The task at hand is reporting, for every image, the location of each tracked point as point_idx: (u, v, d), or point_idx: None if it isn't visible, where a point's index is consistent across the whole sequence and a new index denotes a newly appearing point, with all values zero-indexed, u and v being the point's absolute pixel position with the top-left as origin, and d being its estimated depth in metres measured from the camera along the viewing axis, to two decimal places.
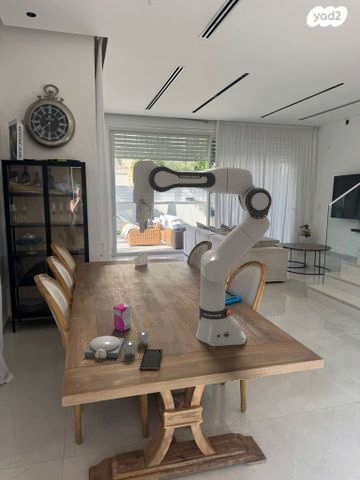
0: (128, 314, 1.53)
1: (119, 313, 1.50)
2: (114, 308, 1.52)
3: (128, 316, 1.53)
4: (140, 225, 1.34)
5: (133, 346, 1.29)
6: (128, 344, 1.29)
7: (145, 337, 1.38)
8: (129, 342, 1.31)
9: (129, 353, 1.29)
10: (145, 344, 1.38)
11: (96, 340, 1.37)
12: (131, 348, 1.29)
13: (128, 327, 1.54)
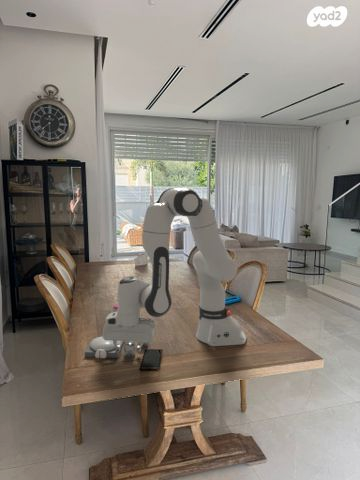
0: None
1: None
2: (114, 308, 1.52)
3: None
4: (142, 344, 1.30)
5: (133, 346, 1.29)
6: (128, 344, 1.29)
7: None
8: (129, 342, 1.31)
9: (129, 353, 1.29)
10: (145, 344, 1.38)
11: (96, 340, 1.37)
12: (131, 348, 1.29)
13: None
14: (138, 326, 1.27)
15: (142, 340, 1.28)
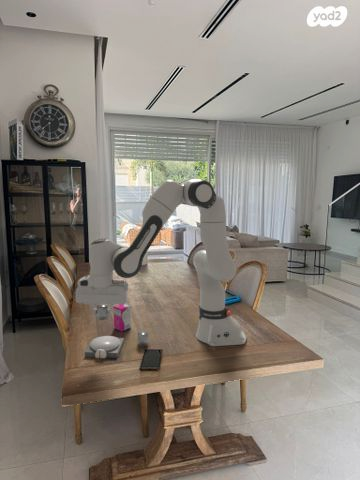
0: (128, 314, 1.53)
1: (119, 313, 1.50)
2: (114, 308, 1.52)
3: (128, 316, 1.53)
4: None
5: (105, 308, 1.28)
6: (100, 306, 1.28)
7: (145, 337, 1.38)
8: (102, 305, 1.30)
9: (101, 315, 1.28)
10: (145, 344, 1.38)
11: (96, 340, 1.37)
12: (103, 310, 1.28)
13: (128, 327, 1.54)
14: (111, 288, 1.26)
15: (116, 302, 1.27)
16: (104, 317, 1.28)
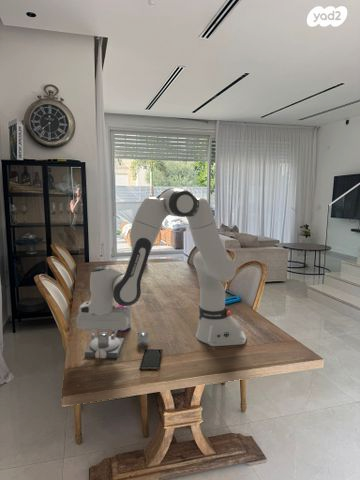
0: None
1: None
2: None
3: (128, 316, 1.53)
4: (116, 332, 1.30)
5: (106, 337, 1.30)
6: (101, 335, 1.30)
7: (145, 337, 1.38)
8: (102, 333, 1.32)
9: (102, 344, 1.30)
10: (145, 344, 1.38)
11: (96, 340, 1.37)
12: (104, 338, 1.30)
13: (128, 327, 1.54)
14: (111, 314, 1.28)
15: (116, 328, 1.29)
16: (105, 345, 1.30)
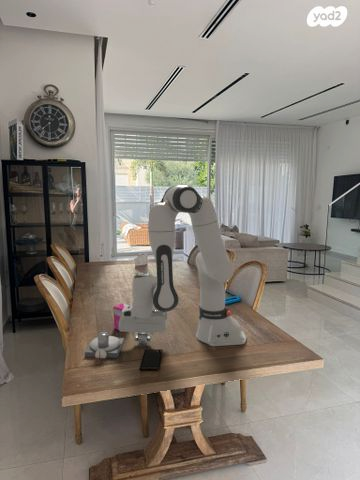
0: None
1: (119, 313, 1.50)
2: (114, 308, 1.52)
3: None
4: (153, 334, 1.39)
5: (106, 337, 1.30)
6: (101, 335, 1.30)
7: (145, 337, 1.38)
8: (102, 333, 1.32)
9: (102, 344, 1.30)
10: (145, 344, 1.38)
11: (96, 340, 1.37)
12: (104, 338, 1.30)
13: None
14: (152, 318, 1.36)
15: (156, 330, 1.37)
16: (105, 345, 1.30)
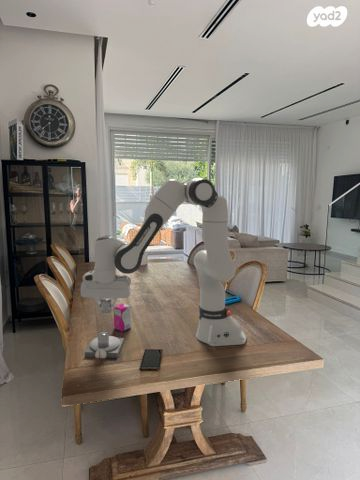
0: (128, 314, 1.53)
1: (119, 313, 1.50)
2: (114, 308, 1.52)
3: (128, 316, 1.53)
4: (116, 300, 1.35)
5: (106, 337, 1.30)
6: (101, 335, 1.30)
7: (108, 303, 1.33)
8: (102, 333, 1.32)
9: (102, 344, 1.30)
10: (108, 310, 1.34)
11: (96, 340, 1.37)
12: (104, 338, 1.30)
13: (128, 327, 1.54)
14: (114, 282, 1.32)
15: (119, 296, 1.33)
16: (105, 345, 1.30)
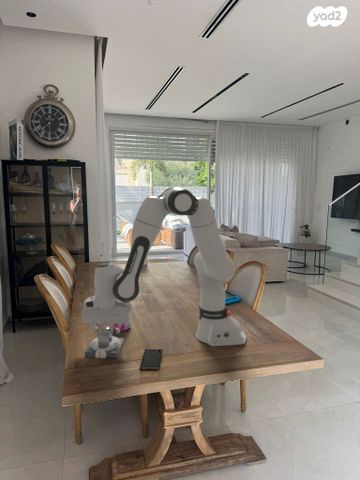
0: None
1: None
2: None
3: None
4: (121, 325, 1.36)
5: (106, 337, 1.30)
6: (101, 335, 1.30)
7: (109, 331, 1.35)
8: (102, 333, 1.32)
9: (102, 344, 1.30)
10: (109, 339, 1.36)
11: (96, 340, 1.37)
12: (104, 338, 1.30)
13: (128, 327, 1.54)
14: (115, 309, 1.34)
15: (119, 321, 1.35)
16: (105, 345, 1.30)
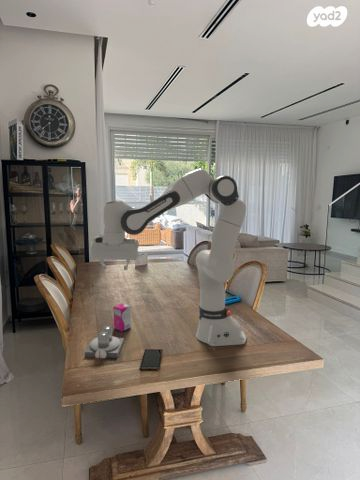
0: (128, 314, 1.53)
1: (119, 313, 1.50)
2: (114, 308, 1.52)
3: (128, 316, 1.53)
4: (129, 262, 1.41)
5: (106, 337, 1.30)
6: (101, 335, 1.30)
7: (109, 331, 1.35)
8: (102, 333, 1.32)
9: (102, 344, 1.30)
10: (109, 339, 1.36)
11: (96, 340, 1.37)
12: (104, 338, 1.30)
13: (128, 327, 1.54)
14: (123, 245, 1.38)
15: (127, 258, 1.39)
16: (105, 345, 1.30)
